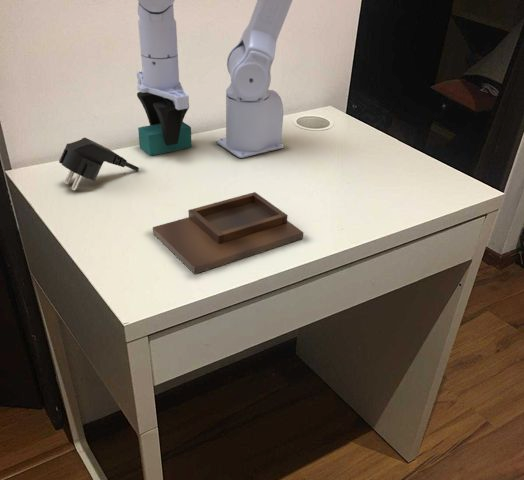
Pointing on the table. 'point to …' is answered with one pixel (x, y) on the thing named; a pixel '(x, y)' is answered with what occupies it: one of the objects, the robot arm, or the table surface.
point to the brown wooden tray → (227, 232)
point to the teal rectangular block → (162, 139)
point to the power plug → (88, 160)
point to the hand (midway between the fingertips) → (165, 139)
